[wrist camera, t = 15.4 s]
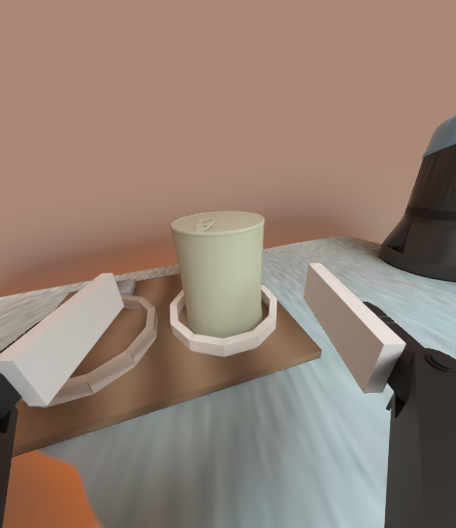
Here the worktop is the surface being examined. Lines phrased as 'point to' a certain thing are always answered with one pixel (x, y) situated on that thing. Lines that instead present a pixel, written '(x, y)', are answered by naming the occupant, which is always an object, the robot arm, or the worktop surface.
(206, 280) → the can
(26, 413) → the walnut board
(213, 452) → the worktop surface
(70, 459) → the worktop surface
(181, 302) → the ring
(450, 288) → the worktop surface
